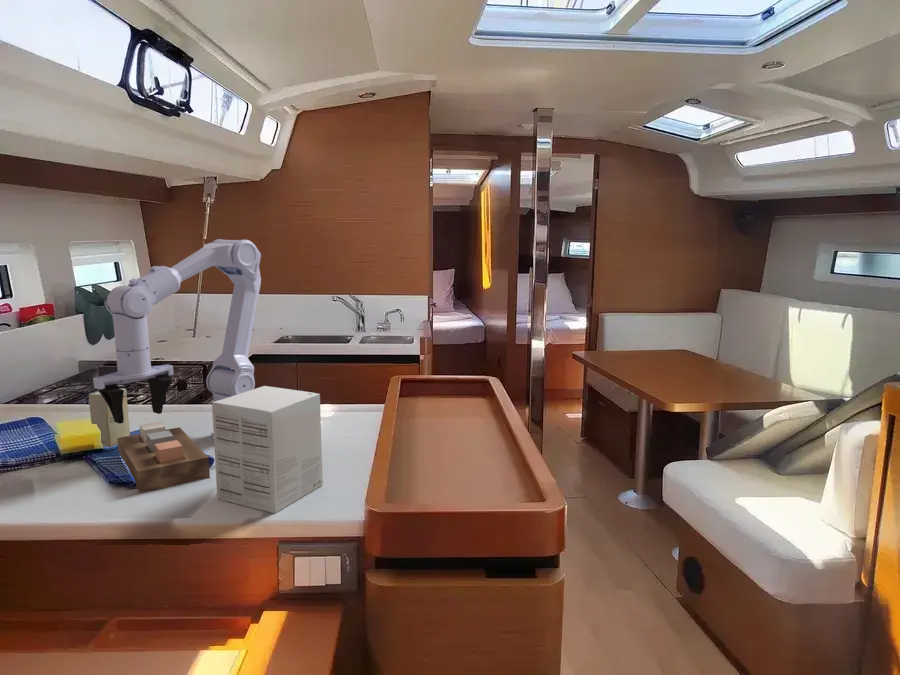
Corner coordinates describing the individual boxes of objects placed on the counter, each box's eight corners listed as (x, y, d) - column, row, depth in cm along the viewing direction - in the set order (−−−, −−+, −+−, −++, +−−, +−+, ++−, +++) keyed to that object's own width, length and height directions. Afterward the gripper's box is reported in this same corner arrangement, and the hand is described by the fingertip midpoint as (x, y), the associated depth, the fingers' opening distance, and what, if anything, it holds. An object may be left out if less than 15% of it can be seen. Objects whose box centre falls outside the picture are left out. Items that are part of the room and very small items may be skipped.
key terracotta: (178, 457, 117) (177, 439, 116) (183, 463, 114) (182, 445, 113) (155, 461, 115) (154, 444, 114) (160, 468, 111) (159, 450, 111)
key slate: (169, 447, 122) (168, 430, 122) (174, 452, 119) (173, 435, 119) (148, 451, 120) (146, 434, 120) (152, 457, 117) (150, 439, 116)
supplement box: (268, 473, 118) (264, 384, 115) (324, 485, 112) (321, 392, 109) (215, 499, 106) (209, 401, 103) (274, 514, 100) (270, 411, 97)
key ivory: (162, 437, 128) (160, 421, 127) (166, 443, 125) (165, 426, 124) (141, 441, 126) (139, 425, 125) (144, 446, 122) (143, 430, 122)
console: (180, 445, 132) (179, 427, 132) (209, 477, 115) (208, 457, 114) (118, 456, 125) (117, 437, 125) (139, 493, 108) (137, 471, 107)
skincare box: (110, 451, 128) (105, 395, 126) (92, 450, 129) (87, 394, 127) (131, 441, 134) (127, 388, 132) (114, 440, 135) (109, 386, 133)
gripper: (157, 341, 125) (162, 405, 127) (82, 352, 113) (89, 423, 115) (177, 345, 121) (182, 411, 123) (101, 357, 109) (108, 430, 111)
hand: (138, 417), depth 119 cm, fingers open, 7 cm apart
